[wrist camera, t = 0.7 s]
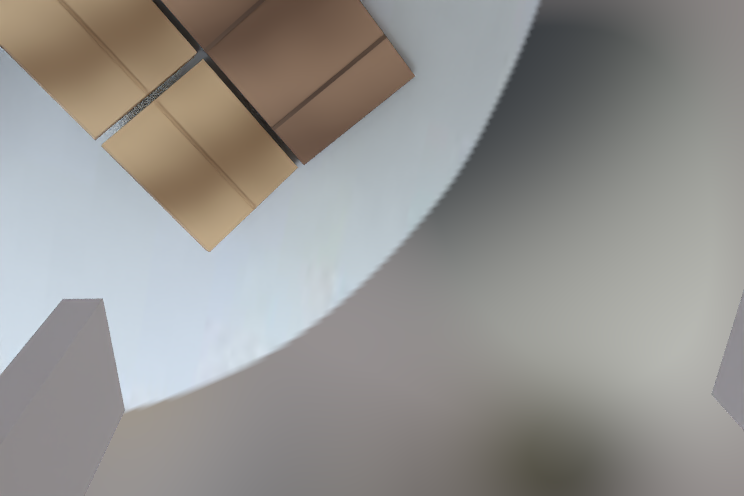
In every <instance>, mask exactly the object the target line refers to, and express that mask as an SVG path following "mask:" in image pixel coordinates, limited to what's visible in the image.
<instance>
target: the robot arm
mask: <svg viewBox="0 0 744 496" xmlns="http://www.w3.org/2000/svg"><path fill="white" fill-rule="evenodd" d="M712 395H713V397H714V398H715V399H716V400H717V401H718V402H719V403H720V404H721V406H722V407H723V408H724V409H725V410H726V411H727V412H728V413H729V415H730V416H732V418H733V419H734V420H735V421H736V422H737V423H738V425H739V426H740V427H741V428H742V429H743V430H744V291H743V295H742V297H741V301H740V304H739V307H738V310H737V314H736V317H735V320H734V323H733V327H732V330H731V333H730V336H729V339H728V343H727V346H726V349H725V352H724V356H723V359H722V362H721V366H720V369H719V372H718V375H717V379H716V381H715V385H714V388H713V391H712ZM124 411H125V409H124V404H123V398H122V393H121V388H120V383H119V378H118V373H117V368H116V363H115V358H114V353H113V348H112V343H111V337H110V332H109V327H108V322H107V317H106V312H105V307H104V302H103V299H63V300H62V301H61V302H60V303H59V304H58V306H57V307H56V308H55V309H54V311H53V312H52V313H51V314H50V315H49V317H48V318H47V319H46V320H45V322H44V323H43V324H42V325H41V326H40V328H39V329H38V330H37V331H36V332H35V334H34V335H33V336H32V337H31V339H30V340H29V341H28V342H27V343H26V345H25V346H24V347H23V348H22V350H21V351H20V352H19V353H18V354H17V356H16V357H15V358H14V359H13V360H12V362H11V363H10V364H9V365H8V367H7V368H6V369H5V370H4V371H3V373H2V374H1V375H0V496H85V493H86V491H87V489H88V487H89V485H90V483H91V481H92V479H93V476H94V474H95V472H96V470H97V468H98V466H99V464H100V462H101V460H102V457H103V455H104V453H105V451H106V449H107V447H108V445H109V443H110V440H111V438H112V436H113V434H114V432H115V430H116V428H117V426H118V424H119V421H120V419H121V417H122V415H123V413H124Z"/></svg>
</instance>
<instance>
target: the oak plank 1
mask: <svg viewBox="0 0 744 496" xmlns="http://www.w3.org/2000/svg"><path fill="white" fill-rule="evenodd" d="M0 46H1V47H2V48H3V49H4V50H5V51H6V52H7V53H8V54H9V55H10V56H11V57H12V58H13V59H14V60H15V61H16V62H17V63H18V64H19V65H20V66H21V67H22V68H23V69H24V70H25V71H26V72H27V73H28V74H29V75H30V76H31V77H32V78H33V79H34V80H35V81H36V82H37V83H38V84H39V85H40V86H41V87H42V88H43V89H44V90H45V91H46V92H47V93H48V94H49V95H50V96H51V97H52V98H53V99H54V100H55V101H56V102H57V103H58V104H59V105H60V106H61V107H62V108H63V109H64V110H65V111H66V112H67V113H68V114H69V115H70V116H71V117H72V118H73V119H74V120H75V121H76V122H77V123H78V124H79V125H80V126H81V127H82V128H83V129H84V130H85V131H86V132H87V133H88V134H89V135H90V136H91V137H92V138H93V139H94V140H96V139H97V138H99V137H100V136H101V135H102V134H103V133H104V132H106V131H107V130H108V129H109V128H110V127H112V126H113V125H114V124H115V123H116V122H118V121H119V120H120V119H121V118H122V117H123V116H125V115H126V114H127V113H128V112H129V111H131V110H132V109H133V108H134V107H135V106H137V105H138V104H139V103H140V102H141V101H142V100H144V99H145V98H146V97H147V96H148V95H150V94H151V93H152V92H153V91H154V90H156V89H157V88H158V87H159V86H160V85H161V84H163V83H164V82H165V81H166V80H167V79H169V78H170V77H171V76H172V75H173V74H175V73H176V72H177V71H178V70H179V69H180V68H182V67H183V66H184V65H185V64H186V63H188V62H189V61H190V60H191V59H192V58H194V56H195V55H196V53H197V51H196V50H195V49H194V48H193V47H192V46H191V45H190V43H189V42H188V41H187V40H186V39H185V38H184V37H183V35H182V34H181V33H180V32H179V31H178V30H177V29H176V27H175V26H174V25H173V24H172V23H171V22H170V21H169V19H168V18H167V17H166V16H165V15H164V14H163V13H162V11H161V10H160V9H159V8H158V7H157V6H156V5H155V3H154V2H153V1H152V0H0Z"/></svg>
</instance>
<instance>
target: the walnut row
mask: <svg viewBox="0 0 744 496" xmlns="http://www.w3.org/2000/svg"><path fill="white" fill-rule="evenodd" d="M161 1H162V2H163V3H164V4H165V6H166V7H167V8H168V9H169V10H170V11H171V12H172V14H173V15H174V16H175V17H176V18H177V19H178V21H179V22H180V23H181V24H182V25H183V26H184V27H185V29H186V30H187V31H188V32H189V33H190V34H191V36H192V37H193V38H194V39H195V40H196V41H197V42H198V44H199V45H200V46H201V47H202V48H203V49H204V51H205V52H206V53H207V54H208V55H209V56H210V57H211V59H212V60H213V61H214V62H215V63H216V64H217V66H218V67H219V68H220V69H221V70H222V71H223V72H224V74H225V75H226V76H227V77H228V78H229V79H230V81H231V82H232V83H233V84H234V85H235V86H236V87H237V89H238V90H239V91H240V92H241V93H242V94H243V95H244V97H245V98H246V99H247V100H248V101H249V102H250V104H251V105H252V106H253V107H254V108H255V109H256V110H257V112H258V113H259V114H260V115H261V116H262V117H263V119H264V120H265V121H266V122H267V123H268V124H269V125H270V127H271V128H272V130H273V131H275V132H276V134H277V135H278V136H279V137H280V138H281V139H282V140H283V142H284V143H285V144H286V145H287V146H288V147H289V149H290V150H291V151H292V152H293V153H294V154H295V155H296V157H297V158H298V159H299V160H300V161H301V162H302V164H303V165H305V164H306V163H307V162H308V161H310V160H311V159H312V158H313V157H315V156H316V155H317V154H318V153H320V152H321V151H322V150H323V149H325V148H326V147H327V146H328V145H330V144H331V143H332V142H333V141H335V140H336V139H337V138H338V137H340V136H341V135H342V134H343V133H345V132H346V131H347V130H348V129H350V128H351V127H352V126H353V125H355V124H356V123H357V122H358V121H360V120H361V119H362V118H363V117H365V116H366V115H367V114H368V113H370V112H371V111H372V110H373V109H375V108H376V107H377V106H378V105H380V104H381V103H382V102H383V101H385V100H386V99H387V98H388V97H390V96H391V95H392V94H393V93H395V92H396V91H397V90H398V89H400V88H401V87H402V86H403V85H405V84H406V83H407V82H408V81H410V80H411V79H412V78H413V77H415V75H414V74H413V73H412V71H411V70H410V69H409V67H408V66H407V64H406V63H405V62H404V60H403V59H402V58H401V56H400V55H399V54H398V52H397V51H396V49H395V48H394V47H393V45H392V44H391V43H390V41H389V40H388V39H387V37H386V36H385V34H384V33H383V32H382V30H381V29H380V28H379V26H378V25H377V24H376V22H375V21H374V19H373V18H372V17H371V15H370V14H369V13H368V11H367V10H366V9H365V7H364V6H363V4H362V3H361V2H360V0H161Z"/></svg>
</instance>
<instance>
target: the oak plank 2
mask: <svg viewBox="0 0 744 496" xmlns="http://www.w3.org/2000/svg"><path fill="white" fill-rule="evenodd" d="M102 147H103V148H104V149H105V150H106V151H107V152H108V153H109V154H110V155H111V156H112V157H113V158H114V159H115V160H116V161H117V162H118V163H119V164H120V165H121V166H122V167H123V168H124V169H125V170H126V171H127V172H128V173H129V174H130V175H131V176H132V177H133V178H134V179H135V180H136V181H137V182H138V183H139V184H140V185H141V186H142V187H143V188H144V189H145V190H146V191H147V192H148V193H149V194H150V195H151V196H152V197H153V198H154V199H155V200H156V201H157V202H158V203H159V204H160V205H161V206H162V207H163V208H164V209H165V210H166V211H167V212H168V213H169V214H170V215H171V216H172V217H173V218H174V219H175V220H176V221H177V222H178V223H179V224H180V225H181V226H182V227H183V228H184V229H185V230H186V231H187V232H188V233H189V234H190V235H191V236H192V237H193V238H194V239H195V240H196V241H197V242H198V243H199V244H200V245H201V246H202V247H203V248H204V249H205V250H207V251H209V252H210V251H211V250H212V249H213V248H214V247H215V246H216V245H217V244H218V243H219V242H221V241H222V240H223V239H224V238H225V237H226V236H227V235H228V234H229V233H230V232H231V231H232V230H233V229H234V228H235V227H236V226H237V225H238V224H239V223H240V222H241V221H243V220H244V219H245V218H246V217H247V216H248V215H249V214H250V213H251V212H252V211H253V210H254V209H255V208H256V207H257V206H258V205H259V204H260V203H261V202H262V201H263V200H264V199H266V198H267V197H268V196H269V195H270V194H271V193H272V192H273V191H274V190H275V189H276V188H277V187H278V186H279V185H280V184H281V183H282V182H283V181H284V180H285V179H286V178H287V177H289V176H290V175H291V174H292V173H293V172H294V171H295V170H296V169H297V168H298V167H297V166H296V165H295V164H294V163H293V161H292V160H291V159H290V158H289V157H288V156H287V155H286V153H285V152H284V151H283V150H282V149H281V148H280V146H279V145H278V144H277V143H276V142H275V141H274V140H273V138H272V137H271V136H270V135H269V134H268V133H267V132H266V130H265V129H264V128H263V127H262V126H261V125H260V124H259V122H258V121H257V120H256V119H255V118H254V117H253V116H252V114H251V113H250V112H249V111H248V110H247V109H246V108H245V106H244V105H243V104H242V103H241V102H240V101H239V100H238V98H237V97H236V96H235V95H234V94H233V93H232V92H231V90H230V89H229V88H228V87H227V86H226V85H225V84H224V82H223V81H222V80H221V79H220V78H219V77H218V76H217V74H216V73H215V72H214V71H213V70H212V69H211V67H210V66H209V65H208V64H207V63H206V62H205V61H204V59H202V60H201V61H200V62H199V63H198V64H196V65H195V66H194V67H193V68H192V69H191V70H189V71H188V72H187V73H186V74H185V75H183V76H182V77H181V78H180V79H179V80H178V81H176V82H175V83H174V84H173V85H172V86H170V87H169V88H168V89H167V90H166V91H165V92H163V93H162V94H161V95H160V96H159V97H158V98H156V99H155V100H154V101H153V102H152V103H150V104H149V105H148V106H147V107H146V108H145V109H143V110H142V111H141V112H140V113H139V114H137V115H136V116H135V117H134V118H133V119H132V120H130V121H129V122H128V123H127V124H126V125H124V126H123V127H122V128H121V129H120V130H119V131H117V132H116V133H115V134H114V135H113V136H111V137H110V138H109V139H108V140H107V141H106V142H104V143H103V144H102Z"/></svg>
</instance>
